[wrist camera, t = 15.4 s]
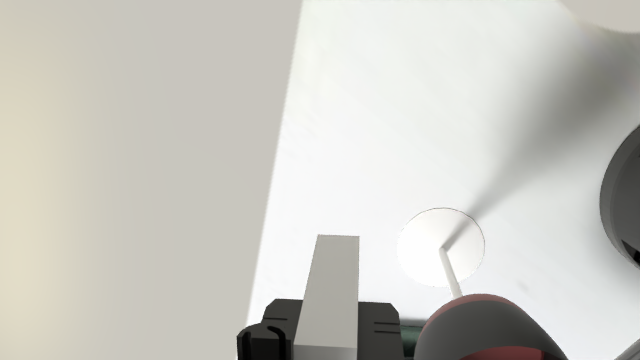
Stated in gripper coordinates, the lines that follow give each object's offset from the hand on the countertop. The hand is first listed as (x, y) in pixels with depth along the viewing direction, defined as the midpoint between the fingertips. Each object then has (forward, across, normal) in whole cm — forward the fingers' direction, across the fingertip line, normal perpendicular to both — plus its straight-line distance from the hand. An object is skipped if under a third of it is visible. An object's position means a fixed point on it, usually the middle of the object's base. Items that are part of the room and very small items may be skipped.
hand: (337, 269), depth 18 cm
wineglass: (+25, +8, -10) cm, 28 cm away
